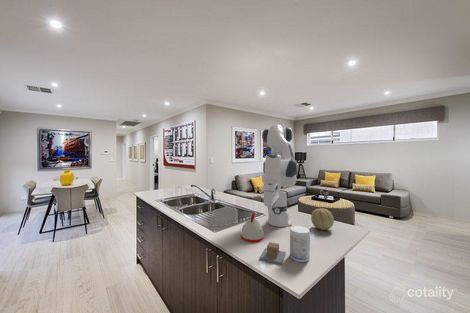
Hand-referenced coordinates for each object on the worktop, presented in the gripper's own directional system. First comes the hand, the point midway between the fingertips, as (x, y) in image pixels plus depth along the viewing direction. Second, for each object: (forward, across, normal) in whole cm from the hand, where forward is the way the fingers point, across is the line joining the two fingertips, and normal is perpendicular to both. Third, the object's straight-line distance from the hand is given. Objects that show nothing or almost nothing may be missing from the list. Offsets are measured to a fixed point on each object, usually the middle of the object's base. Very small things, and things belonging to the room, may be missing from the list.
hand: (272, 210), depth 107 cm
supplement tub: (+22, +1, +15) cm, 27 cm away
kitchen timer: (+23, -12, -15) cm, 30 cm away
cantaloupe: (+24, -46, +26) cm, 58 cm away
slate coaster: (+22, +6, +2) cm, 23 cm away
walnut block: (+21, +6, +2) cm, 22 cm away
